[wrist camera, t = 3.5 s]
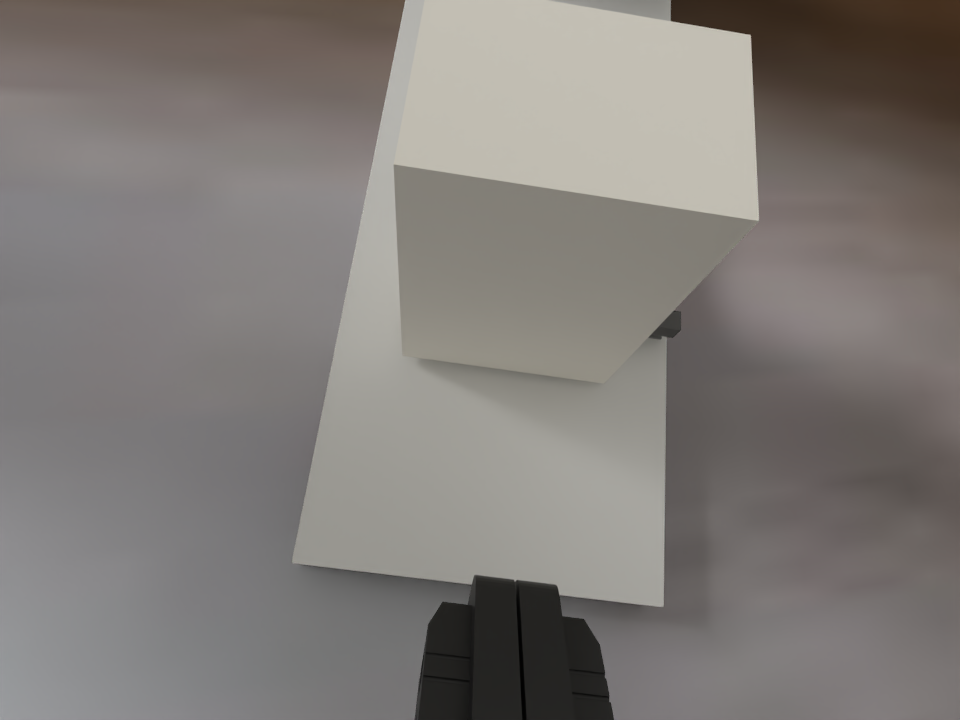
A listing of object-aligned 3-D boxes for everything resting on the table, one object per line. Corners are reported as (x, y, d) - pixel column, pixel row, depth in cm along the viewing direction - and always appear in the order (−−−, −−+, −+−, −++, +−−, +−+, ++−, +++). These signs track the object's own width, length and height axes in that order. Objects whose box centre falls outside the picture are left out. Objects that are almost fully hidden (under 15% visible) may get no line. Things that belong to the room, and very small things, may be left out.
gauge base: (300, 564, 18) (135, 535, 7) (434, -110, 28) (448, -556, 17) (644, 605, 19) (963, 633, 8) (659, -70, 28) (812, -476, 17)
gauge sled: (402, 355, 19) (393, 164, 10) (427, 203, 20) (437, -68, 12) (669, 392, 19) (875, 239, 11) (671, 240, 21) (848, 5, 12)
